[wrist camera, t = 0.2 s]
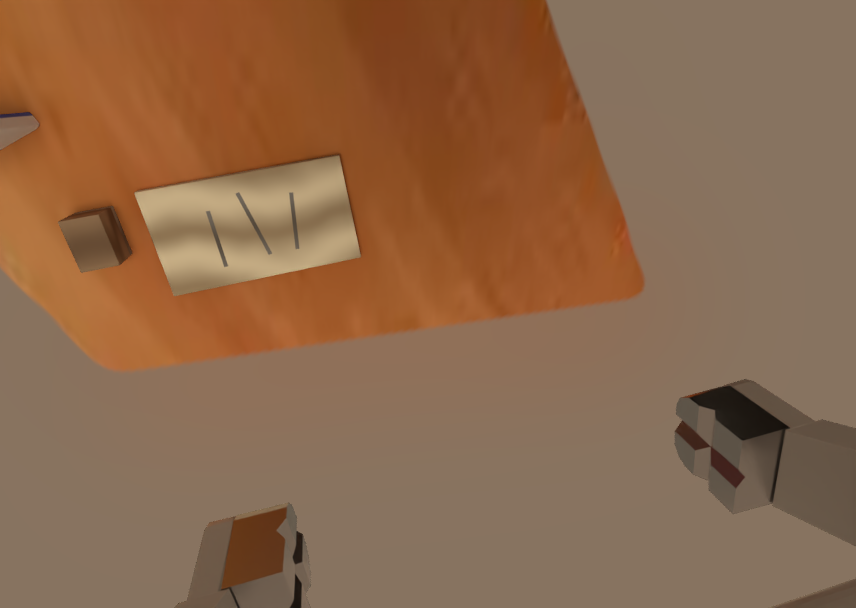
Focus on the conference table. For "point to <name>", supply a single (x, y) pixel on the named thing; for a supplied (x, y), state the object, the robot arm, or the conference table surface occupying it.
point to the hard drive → (16, 127)
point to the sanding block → (96, 238)
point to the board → (250, 224)
